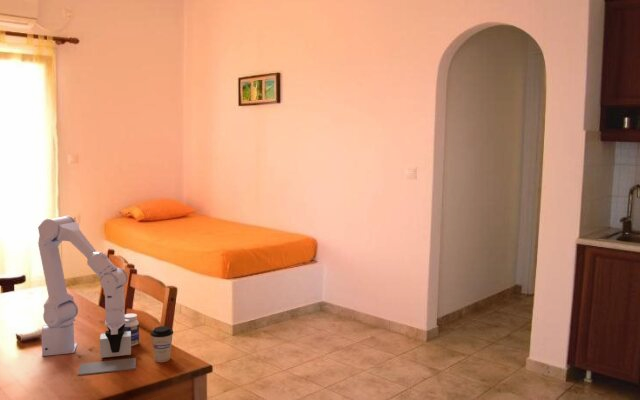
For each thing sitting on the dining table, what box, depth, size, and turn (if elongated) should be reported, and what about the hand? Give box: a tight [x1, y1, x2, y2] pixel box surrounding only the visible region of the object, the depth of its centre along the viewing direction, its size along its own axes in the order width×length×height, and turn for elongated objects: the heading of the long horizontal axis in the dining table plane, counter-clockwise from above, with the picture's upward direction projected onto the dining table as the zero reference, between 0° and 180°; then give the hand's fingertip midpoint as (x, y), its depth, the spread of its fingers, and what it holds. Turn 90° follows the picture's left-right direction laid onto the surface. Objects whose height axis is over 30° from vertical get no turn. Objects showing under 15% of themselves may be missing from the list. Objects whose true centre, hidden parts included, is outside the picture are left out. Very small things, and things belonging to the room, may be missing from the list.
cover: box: [99, 331, 132, 359], centre depth 172 cm, size 9×5×6 cm, turn 108°
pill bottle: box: [123, 313, 140, 347], centre depth 182 cm, size 6×6×10 cm
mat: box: [77, 357, 137, 377], centre depth 163 cm, size 16×8×1 cm, turn 108°
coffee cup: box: [150, 325, 174, 363], centre depth 169 cm, size 7×7×10 cm
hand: (116, 348), depth 172 cm, fingers closed on cover, 5 cm apart
